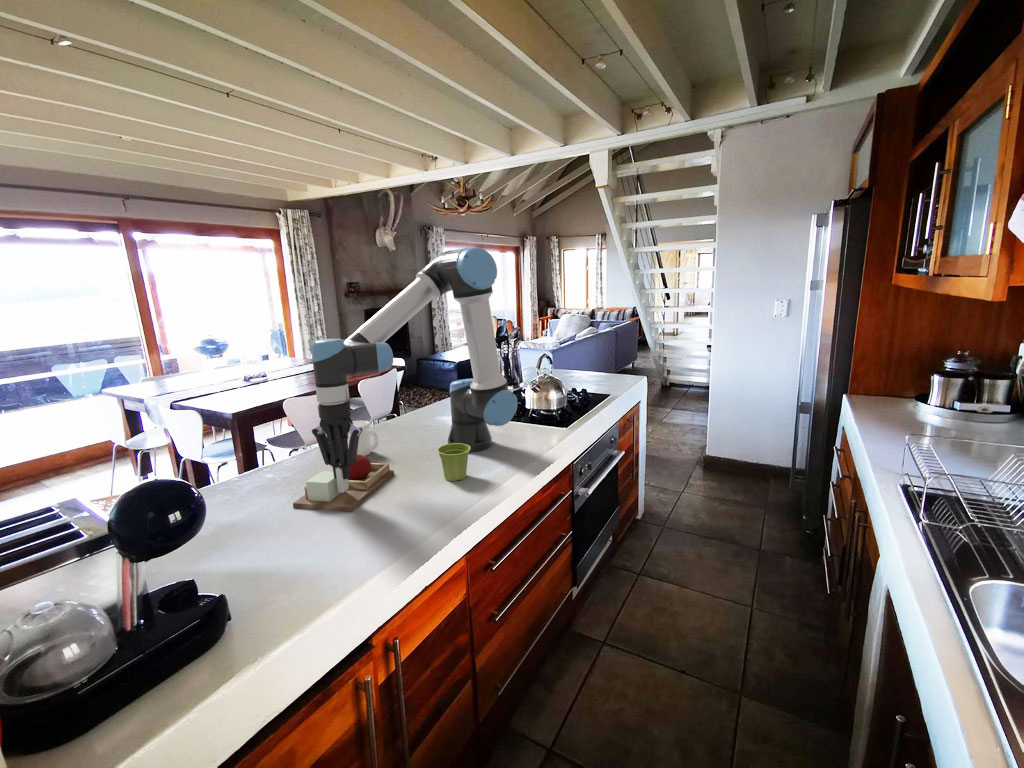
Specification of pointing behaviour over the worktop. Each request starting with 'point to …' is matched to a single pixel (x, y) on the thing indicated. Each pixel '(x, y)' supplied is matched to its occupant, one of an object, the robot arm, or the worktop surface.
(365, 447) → the mug
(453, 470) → the plant pot
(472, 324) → the robot arm
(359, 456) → the tomato
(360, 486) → the housing base
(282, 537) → the worktop surface
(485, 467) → the worktop surface
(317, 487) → the block
